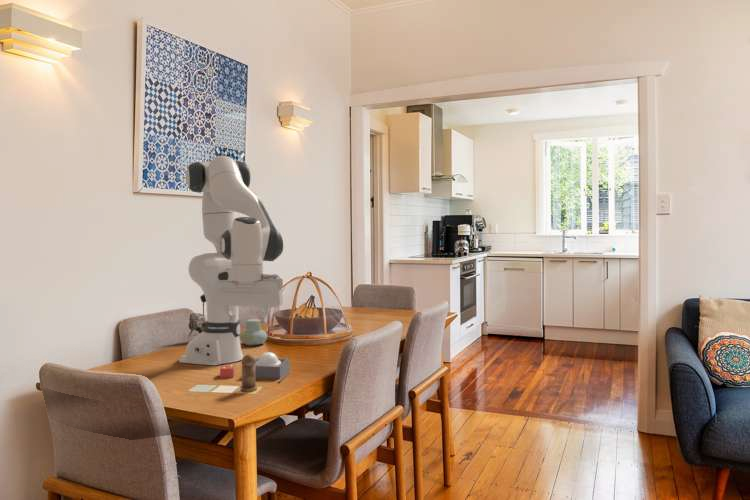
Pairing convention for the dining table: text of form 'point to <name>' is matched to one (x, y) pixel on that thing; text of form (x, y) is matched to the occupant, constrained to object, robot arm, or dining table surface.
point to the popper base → (273, 370)
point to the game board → (220, 389)
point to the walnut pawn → (248, 374)
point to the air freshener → (253, 333)
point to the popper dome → (268, 360)
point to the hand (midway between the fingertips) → (247, 321)
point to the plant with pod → (197, 319)
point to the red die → (227, 371)
